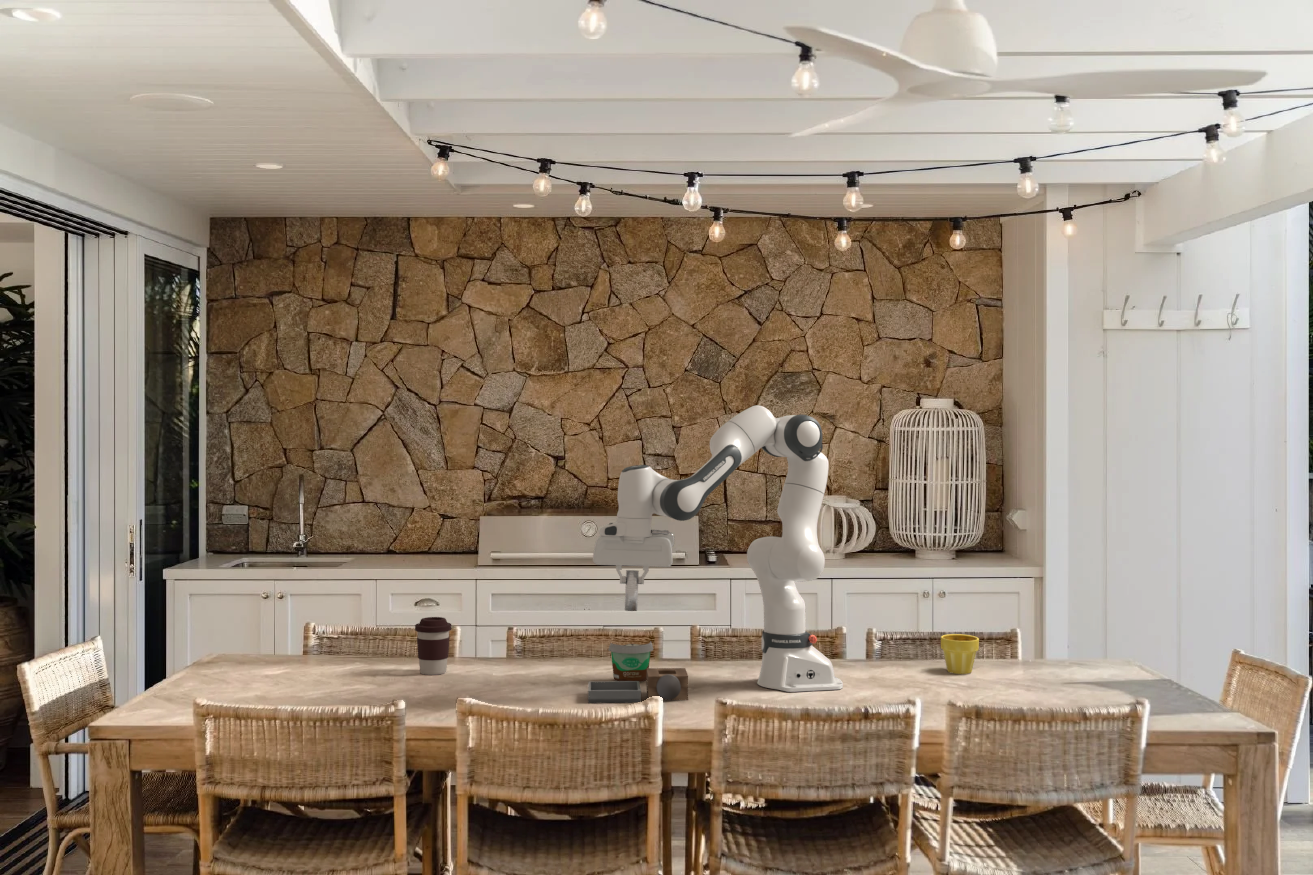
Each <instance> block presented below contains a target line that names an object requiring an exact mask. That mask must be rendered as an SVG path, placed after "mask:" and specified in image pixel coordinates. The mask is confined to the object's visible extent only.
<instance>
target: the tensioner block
mask: <svg viewBox="0 0 1313 875" xmlns="http://www.w3.org/2000/svg"><path fill="white" fill-rule="evenodd" d="M646 695H647V699H648V698H649V697H652V696H660V697H662V698H663V700H662V701H689V675H688V672H687V669H686V667H671V668H670V667H664V668H663V667H660V668H658V667H654V668H652V667H651V668H650V667H649V668H647V680H646Z"/></svg>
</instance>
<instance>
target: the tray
mask: <svg viewBox="0 0 1313 875" xmlns="http://www.w3.org/2000/svg"><path fill="white" fill-rule="evenodd" d="M640 683H641V682H639V681H616V680H614V681H612V680H610V681H609V680H607V681H605V680H604V681H597V680H596V681H588V692H587V697H588V698H587V703H588V704H633V703H632V702H640V701H641V702H642V700H641V699H642V696H641V694H642V690H641V684H640Z"/></svg>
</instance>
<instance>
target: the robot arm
mask: <svg viewBox="0 0 1313 875" xmlns="http://www.w3.org/2000/svg"><path fill="white" fill-rule="evenodd" d="M822 430H823V429H822V427H821V424H820V422H819V421H818V420H817V419H816V418H814V417H813V416H810V415H807V414H802V413H801V414H792V415H789V414H788V415H784V416H781V417H775V416H774V415H773V413H772V412H771V411H770V410H769V409H768V408H766V407H765V406H762V405H758V404H757V405H752V406H751V407H748V408H746V409H744V410H743V411H741V412H739V413H738V414H736V415H735V416H733V417H732V418H731V419H729V420H728V421H726V422H724V424H722V425H721V426H720V427H719V428H718V429H717V430H716V431H715V432H714V433H713V435H712V436H711V437H710V440H709V450H710V453H711V457H710V458H709V459H708V461H707V462H705V463H704V465H702V466H701V467H700V468H699V469H697V470H696V471H695V472H694V473H693V474H692V475H690V476H689V477H687V478H684V479H683V478H682V479H671V478H668V477H666V476H664V475H662V474H660V473H658V472H657V471H655V470H654V469H653V468H652V467H651V466H650V465H647V464H640V465H639V464H638V465H637V464H636V465H631V466H627V467H624V469H622V470H621V472H620V475H619V480H618V485H617V486H618V488H617V503H618V509H617V510H618V511H617V514H616V521H615V522H609V523H606V524H603V525H600V526H599V529H598V534H599V536H597V537H596V540H595V544H594V548H593V552H592V562H593V563H594V565H597V566H615V570H616V572H617V574H618V576H619V584H621V585H622V584H623V585H626V575H623V574H622V572H621V570H622V569H623V568H622V566H624V567H642V571H643V573H642V574H641V576H639V577H638V585H644V584H645V577H646V576H647V575H648V573H649V569H650V567H656V568H657V567H658V568H659V567H661V568H669V567H671V566H672V565H673V561H674V560H673V547H674V545H675V535H674V533H672V532H670V531H669V530H666V529H664V530H660V529H652V518H653V514H656V516H657V515H658V516H661V517H665V518H671V519H673V520H676V521H678V522H679V521H680V522H681V521H683V522H684V521H685V522H686V521H689V520H691V519H692V518H694V517H695V516H696V515H697V514H698V513H699V511H700V510H701V508H702V507H703V504H704V503H705V501H706V499H707V498H708V497H709V496H710V494H712V492H714V491H715V490H716V489H717V487H718V486H720V485H721V484H722V483H723V482H724V481H725V480H726V479H727V478H728V477H729V476H731V474H732V473H734V472H735V470H736V469H737V468H738V467H739V466H741V465H742V464H743V463H745V462H746V461H747V460H748V459H749V458H751V457H752V456H753V455H754V454H756V453H757V452H758V451H759V450H760V449H762V451H764V452H765V453H766V454H768V455H769V456H772V457H775V458H786V461H787V467H788V468H787V474H786V477H785V481H784V483H783V487H782V490H781V493H780V494H781V495H780V499H779V502H778V504H777V510H776V513H777V515H778V517H779V518H780V520H781V524H782V533H781V537H779V536H774V535H773V536H772V535H771V536H764V537H759V538H757V539H754V540H753V541H752V542H751V543H750V545H749V546H748V549H747V551H746V560H747V563H748V566H749V568H750V569H752V571H753V573H754V575H755V577H756V580H757V582H758V585H759V588H760V592H761V597H762V604H763V630H762V632H761V651H762V659H761V667H760V671H759V672H760V673H759V676H758V678H757V682H756V684H757V685H759V686H760V687H763V688H766V689H767V688H768V689H772V690H778V691H779V690H780V691H781V692H789V693H790V692H791V693H794V692H795V693H796V692H813V691H814V692H816V691H831V690H841V689H843V688H844V685H843V684H844V683H843V681H842V680H841V679H840V678H838V677H836V676H835V669H834V666H833V663H832V661H831V660H830V659H829V658H828V657H827V656H825V655H824V654H823V653H822V652H821V651H819V650H818V649H817V648H816V647H814V646H813V645H814V644H816V643H817V642H818V639H817V636H816V635H814V634H811V633H810V632H808V631H806V609H807V608H806V601H805V600H804V598H803V597H802V596H801V594H800V592H799V590H798V588H797V585H796V583H804V582H810V581H811V582H812V581H815V580H817V579H818V578H819V577H820V576H821V575H822V573H823V572H824V571H825V570H824V569H825V565H826V564H825V563H826V558H825V554H824V552H823V550H822V549H821V547H820V544H819V540H818V538H819V537H818V521H819V517H820V512H821V508H822V505H823V504H822V503H823V499H824V497H825V492H826V488H827V485H828V484H827V483H828V476H829V466H830V465H829V464H830V463H829V459H828V457H827V456H826V455H825V454H824V453H823V452H822V451H823V448H824V447H823V431H822Z"/></svg>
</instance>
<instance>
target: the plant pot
mask: <svg viewBox="0 0 1313 875" xmlns="http://www.w3.org/2000/svg"><path fill="white" fill-rule="evenodd" d="M979 646H980V638H979V637H977V636H976V635H975V636H974V635H970V634H960V633H958V634H957V633H951V634H949V633H948V634H944V635H941V637H940V649H941V650H943V656H944V661H945V665H946V670H947V672H948V673H951V674H955V675H968V674H969V675H970V674H971V673H972V671H973V666H974V665H975V664H974V663H975V660H976V655H977V652H978V651H979V648H980V647H979Z"/></svg>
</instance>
